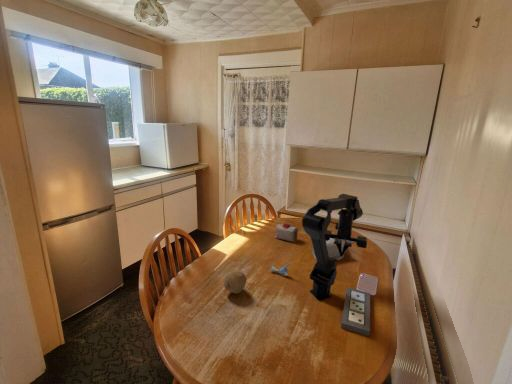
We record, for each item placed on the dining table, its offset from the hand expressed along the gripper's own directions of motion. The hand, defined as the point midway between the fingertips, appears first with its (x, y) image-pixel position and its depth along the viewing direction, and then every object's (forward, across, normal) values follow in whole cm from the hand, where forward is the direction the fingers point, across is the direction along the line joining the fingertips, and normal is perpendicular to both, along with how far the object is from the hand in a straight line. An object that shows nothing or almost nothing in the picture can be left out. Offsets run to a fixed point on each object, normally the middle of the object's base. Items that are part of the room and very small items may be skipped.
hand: (341, 256), depth 114 cm
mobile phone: (+13, -12, -3) cm, 18 cm away
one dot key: (+12, -9, +12) cm, 19 cm away
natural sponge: (+12, +38, +28) cm, 49 cm away
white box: (+12, +34, -31) cm, 48 cm away
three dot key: (+12, -9, +18) cm, 24 cm away
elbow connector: (+12, +8, -22) cm, 26 cm away
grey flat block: (+12, -8, +18) cm, 24 cm away
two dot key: (+12, -9, +25) cm, 29 cm away
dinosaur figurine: (+12, +25, +7) cm, 29 cm away
